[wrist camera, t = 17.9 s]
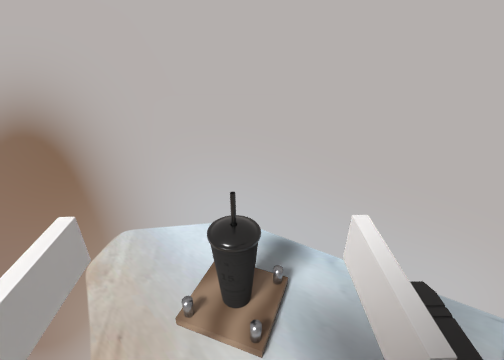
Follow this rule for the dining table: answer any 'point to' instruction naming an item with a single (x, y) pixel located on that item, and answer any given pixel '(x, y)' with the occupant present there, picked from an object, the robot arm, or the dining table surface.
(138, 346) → the dining table surface
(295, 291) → the dining table surface
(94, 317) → the dining table surface
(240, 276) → the drinking cup
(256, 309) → the peg board
